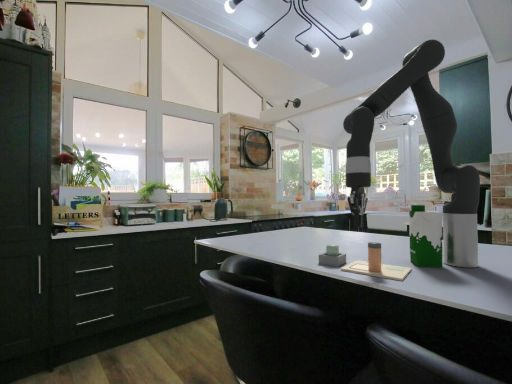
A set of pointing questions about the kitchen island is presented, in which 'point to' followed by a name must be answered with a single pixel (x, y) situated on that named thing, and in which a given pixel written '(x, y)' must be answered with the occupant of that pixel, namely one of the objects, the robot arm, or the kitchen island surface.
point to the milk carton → (425, 237)
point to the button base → (332, 259)
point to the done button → (332, 250)
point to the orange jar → (374, 257)
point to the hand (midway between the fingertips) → (358, 226)
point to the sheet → (386, 272)
